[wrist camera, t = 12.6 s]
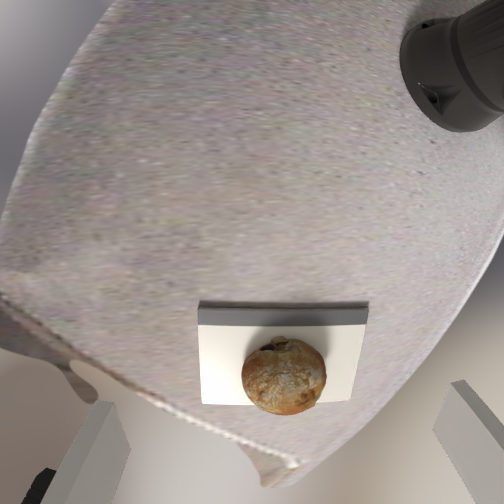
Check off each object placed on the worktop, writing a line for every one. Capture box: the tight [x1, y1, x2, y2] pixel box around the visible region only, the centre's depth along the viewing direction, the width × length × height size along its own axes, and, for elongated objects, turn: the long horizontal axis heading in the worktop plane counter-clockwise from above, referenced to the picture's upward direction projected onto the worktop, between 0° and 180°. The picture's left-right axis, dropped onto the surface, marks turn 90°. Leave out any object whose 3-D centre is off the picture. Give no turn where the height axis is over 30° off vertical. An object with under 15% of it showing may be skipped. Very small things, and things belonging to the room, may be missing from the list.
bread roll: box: [241, 336, 327, 415], centre depth 36 cm, size 10×10×8 cm
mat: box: [198, 307, 369, 405], centre depth 38 cm, size 20×14×1 cm
